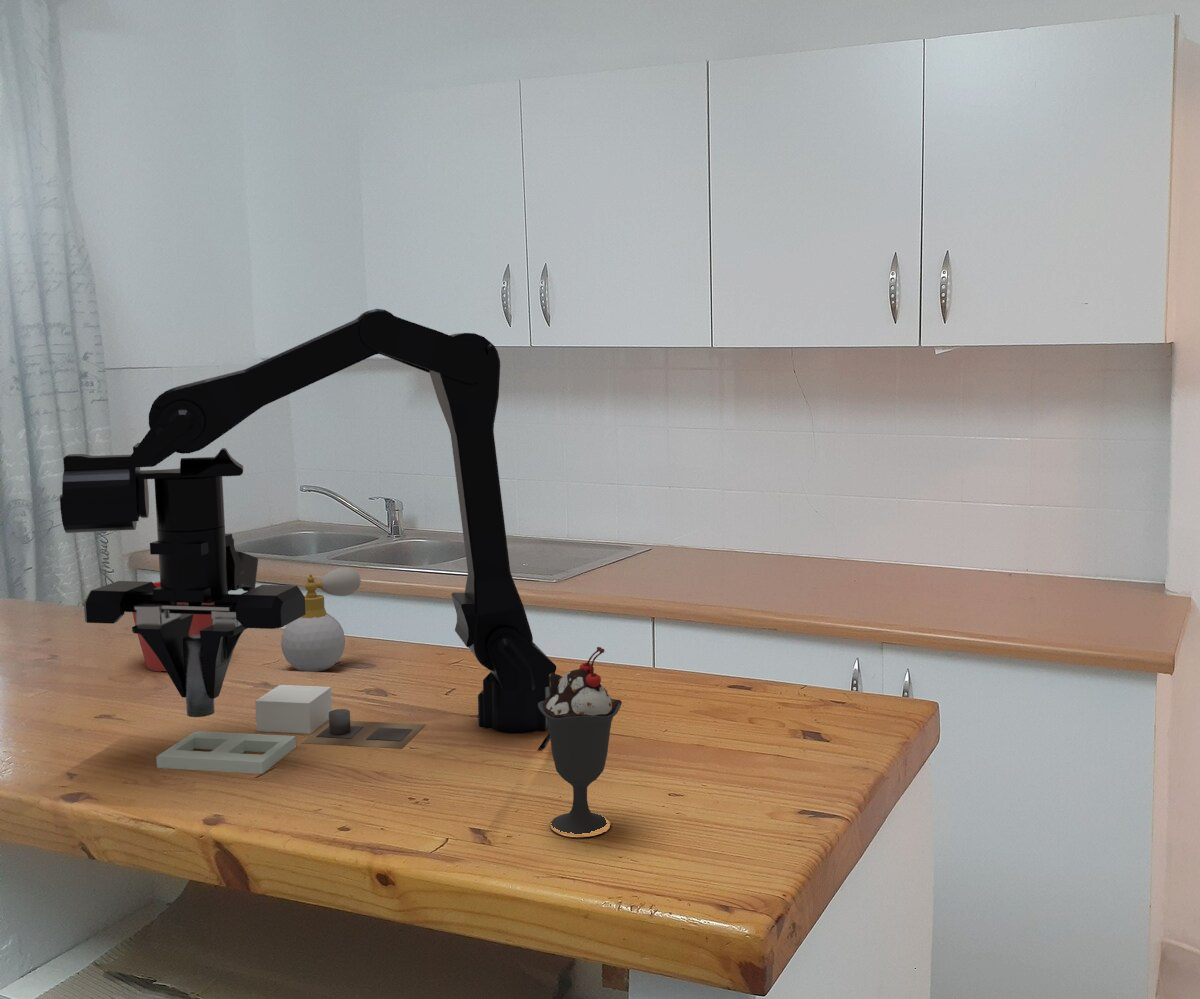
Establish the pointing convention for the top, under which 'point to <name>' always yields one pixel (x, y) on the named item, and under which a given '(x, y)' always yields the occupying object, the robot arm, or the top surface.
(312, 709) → the white rectangular block
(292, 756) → the top surface
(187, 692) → the peg
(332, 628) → the perfume bottle
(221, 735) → the board
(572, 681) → the sundae
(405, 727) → the board
